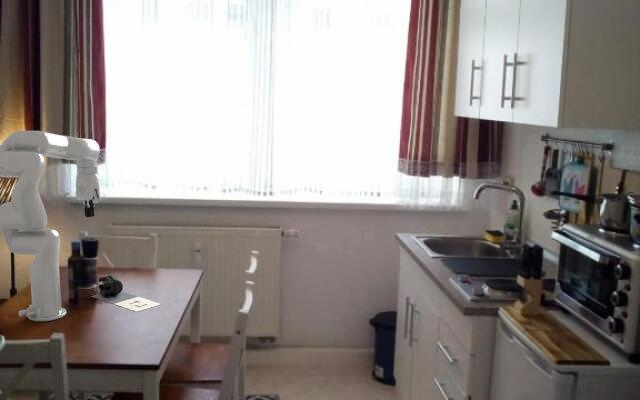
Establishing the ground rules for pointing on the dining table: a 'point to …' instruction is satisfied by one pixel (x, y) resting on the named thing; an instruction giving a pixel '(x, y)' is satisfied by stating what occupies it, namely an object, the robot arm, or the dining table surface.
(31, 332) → the dining table surface
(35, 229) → the robot arm
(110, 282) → the end cap
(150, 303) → the board
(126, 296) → the mat
